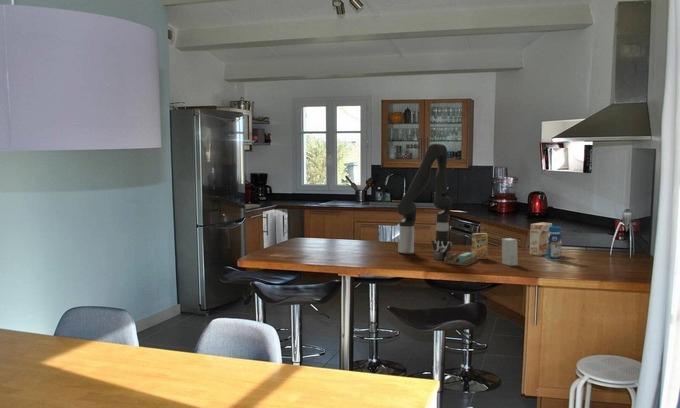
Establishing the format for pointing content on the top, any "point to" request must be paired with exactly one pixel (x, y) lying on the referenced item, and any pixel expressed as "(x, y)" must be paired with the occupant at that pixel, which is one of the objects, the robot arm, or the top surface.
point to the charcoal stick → (439, 255)
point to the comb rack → (455, 260)
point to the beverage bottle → (554, 243)
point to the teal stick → (464, 256)
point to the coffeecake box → (539, 238)
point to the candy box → (479, 245)
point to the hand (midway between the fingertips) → (441, 257)
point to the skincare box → (509, 251)
